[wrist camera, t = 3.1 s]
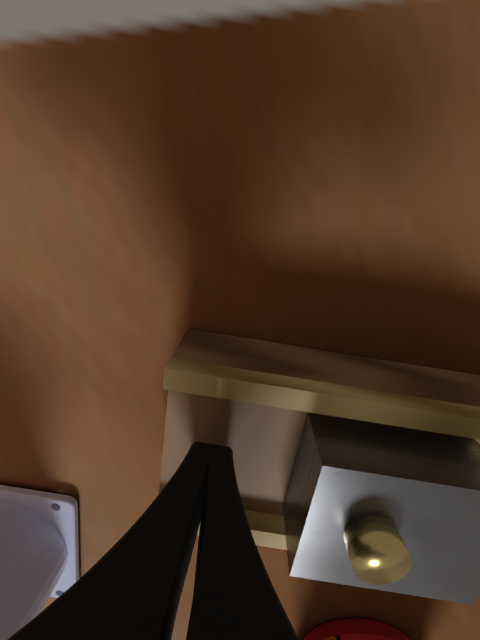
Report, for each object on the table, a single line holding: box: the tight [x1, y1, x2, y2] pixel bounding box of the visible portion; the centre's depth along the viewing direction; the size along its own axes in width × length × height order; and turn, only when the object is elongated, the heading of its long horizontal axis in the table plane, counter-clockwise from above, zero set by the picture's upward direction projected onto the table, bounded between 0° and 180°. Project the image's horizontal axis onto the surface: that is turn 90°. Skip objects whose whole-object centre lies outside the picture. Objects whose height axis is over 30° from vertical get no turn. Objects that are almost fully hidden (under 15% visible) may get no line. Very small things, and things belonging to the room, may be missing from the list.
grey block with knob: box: [283, 412, 480, 605], centre depth 10 cm, size 6×4×3 cm
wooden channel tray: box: [159, 329, 480, 550], centre depth 12 cm, size 18×7×4 cm, turn 81°
